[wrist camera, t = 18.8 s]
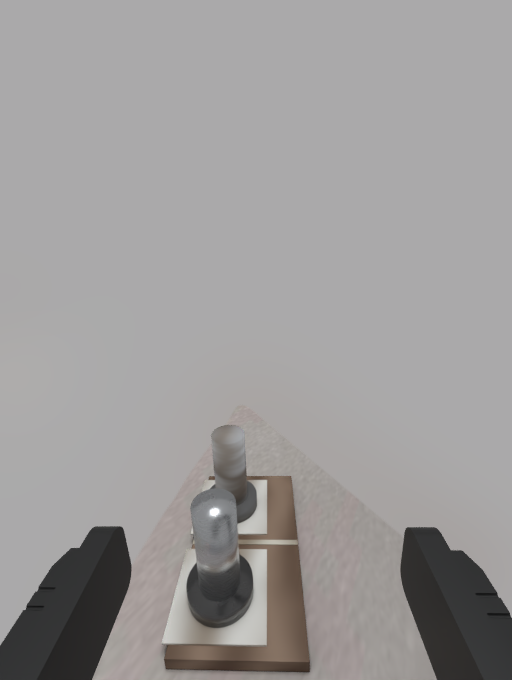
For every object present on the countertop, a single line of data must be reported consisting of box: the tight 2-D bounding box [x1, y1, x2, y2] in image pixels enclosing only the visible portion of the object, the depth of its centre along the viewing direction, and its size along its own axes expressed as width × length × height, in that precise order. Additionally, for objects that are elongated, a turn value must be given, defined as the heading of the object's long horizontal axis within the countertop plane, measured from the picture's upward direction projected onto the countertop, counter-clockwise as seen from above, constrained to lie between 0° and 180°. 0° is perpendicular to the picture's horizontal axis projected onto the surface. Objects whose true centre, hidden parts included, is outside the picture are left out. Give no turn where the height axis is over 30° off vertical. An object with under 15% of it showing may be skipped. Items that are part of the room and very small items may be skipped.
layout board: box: [162, 425, 310, 672], centre depth 36 cm, size 12×22×12 cm, turn 178°
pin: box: [186, 488, 254, 628], centre depth 31 cm, size 6×6×10 cm
